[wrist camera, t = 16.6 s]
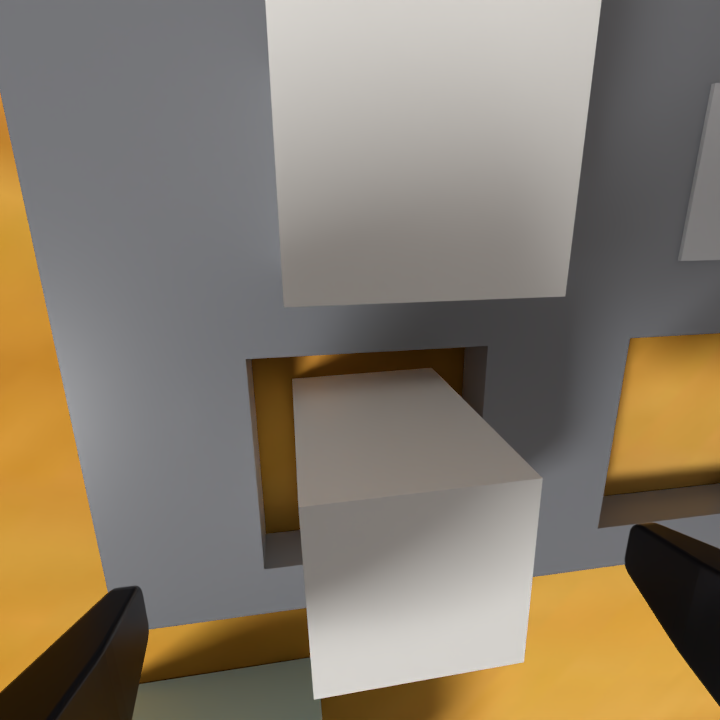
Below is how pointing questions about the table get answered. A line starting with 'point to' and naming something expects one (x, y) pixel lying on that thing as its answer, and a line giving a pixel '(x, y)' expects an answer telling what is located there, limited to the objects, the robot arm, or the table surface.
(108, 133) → the pin board
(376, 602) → the white rectangular prism
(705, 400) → the table surface
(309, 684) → the housing
